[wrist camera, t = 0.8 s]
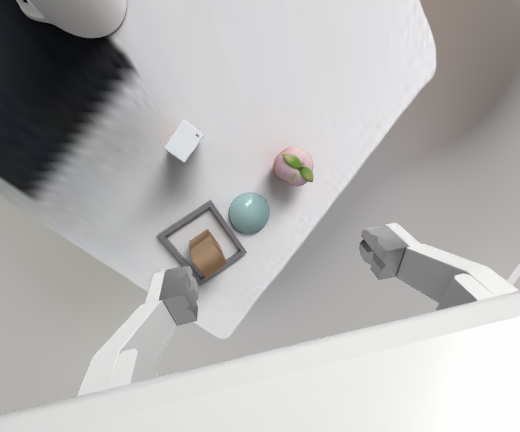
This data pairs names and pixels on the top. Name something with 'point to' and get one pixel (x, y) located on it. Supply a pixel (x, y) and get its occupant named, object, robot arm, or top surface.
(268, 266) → the top surface
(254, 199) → the teal round disc
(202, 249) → the walnut block
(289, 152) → the decorative fruit
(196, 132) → the skincare box
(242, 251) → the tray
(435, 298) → the robot arm
